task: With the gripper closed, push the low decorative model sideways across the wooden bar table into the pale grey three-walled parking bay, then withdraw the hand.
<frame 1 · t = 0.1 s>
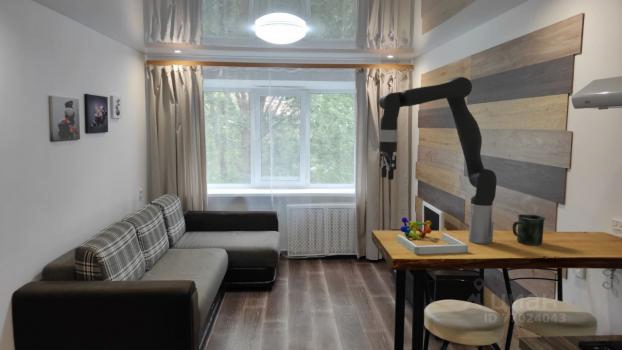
hand: (387, 178, 188), 29 cm above the table, tool pointing down, fingers open, 8 cm apart
mug: (526, 243, 197), on the table
decorative model: (414, 237, 206), on the table
bay: (430, 246, 190), on the table
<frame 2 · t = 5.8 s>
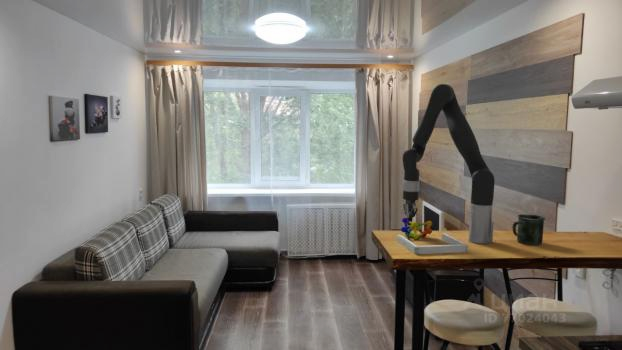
hand: (409, 224, 212), 4 cm above the table, tool pointing down, fingers closed
decorative model: (415, 237, 205), on the table, touching gripper
everything else where it was.
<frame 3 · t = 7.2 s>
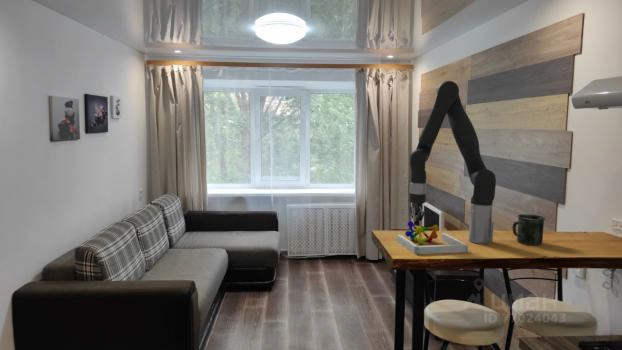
hand: (416, 228, 204), 4 cm above the table, tool pointing down, fingers closed
decorative model: (420, 242, 197), on the table, touching gripper
everything else where it was.
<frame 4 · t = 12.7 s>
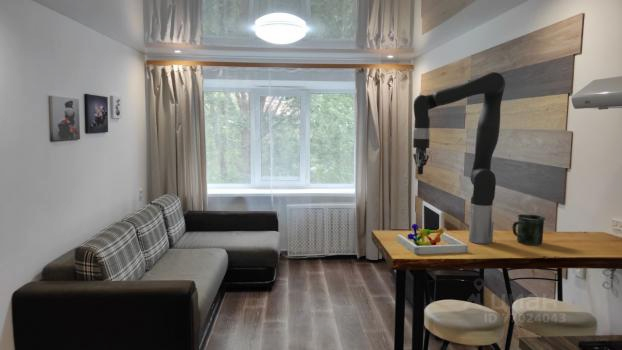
hand: (420, 174, 209), 29 cm above the table, tool pointing down, fingers closed
decorative model: (424, 245, 191), on the table
everything else where it was.
at the end: decorative model inside the target area on the bay (2.9 cm from its centre), point 0.0 cm above the bay's base; decorative model tilted 0°; the gripper is holding nothing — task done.
